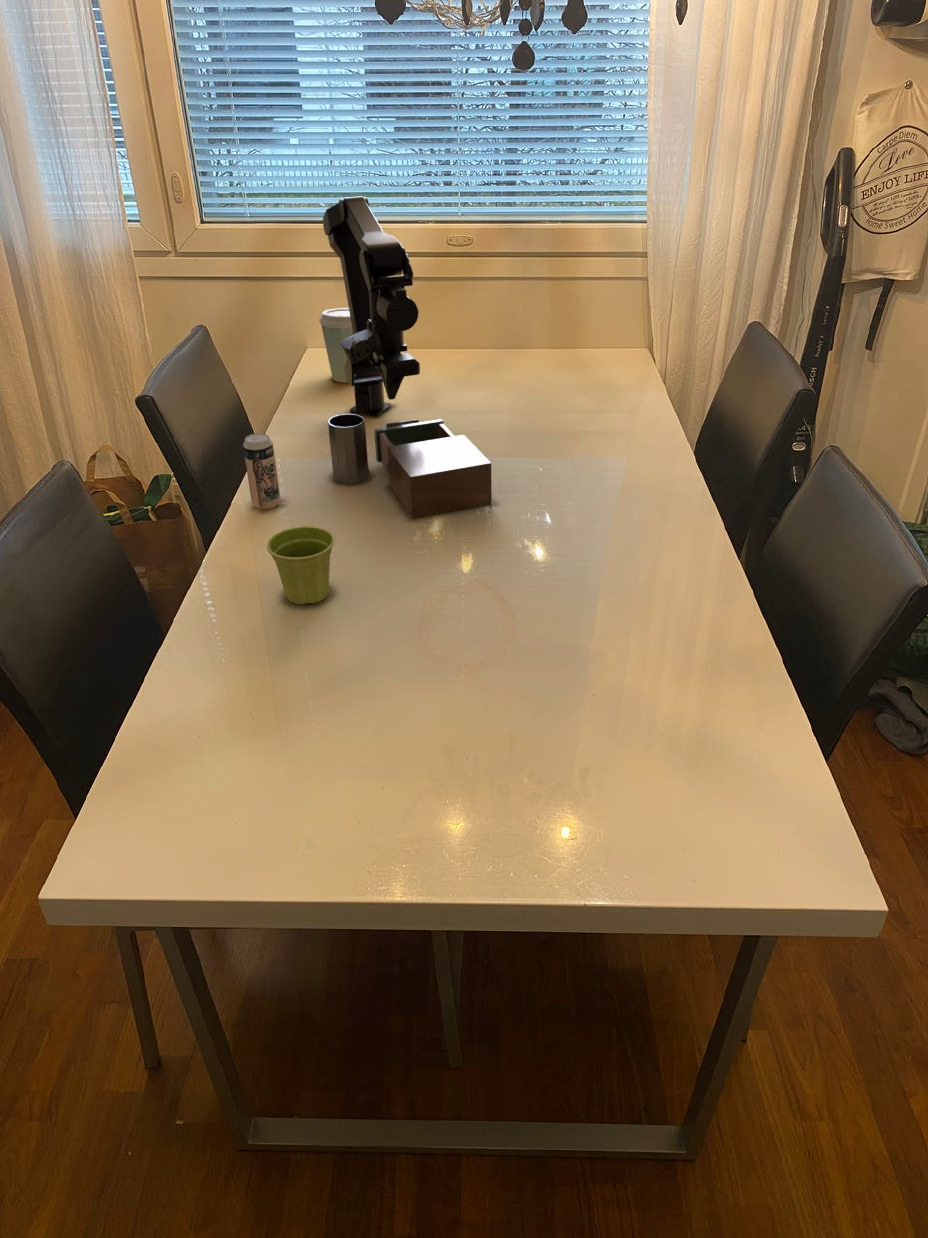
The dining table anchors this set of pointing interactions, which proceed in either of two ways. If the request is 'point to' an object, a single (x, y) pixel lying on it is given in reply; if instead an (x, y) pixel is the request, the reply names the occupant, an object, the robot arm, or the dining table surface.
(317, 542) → the plant pot
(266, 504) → the beer can
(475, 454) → the cabinet
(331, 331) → the disposable coffee cup
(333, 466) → the tapered cup
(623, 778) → the dining table surface
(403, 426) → the drawer
